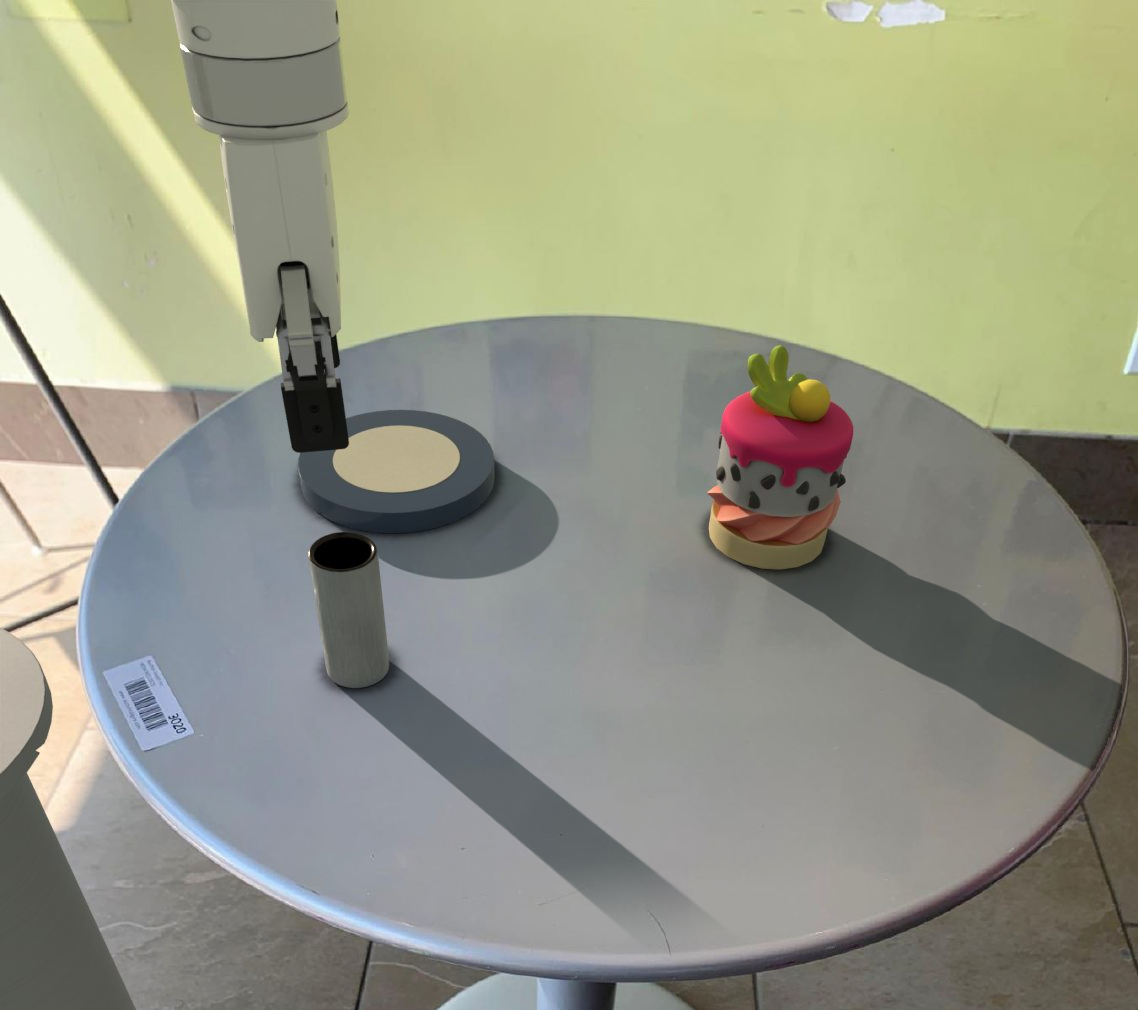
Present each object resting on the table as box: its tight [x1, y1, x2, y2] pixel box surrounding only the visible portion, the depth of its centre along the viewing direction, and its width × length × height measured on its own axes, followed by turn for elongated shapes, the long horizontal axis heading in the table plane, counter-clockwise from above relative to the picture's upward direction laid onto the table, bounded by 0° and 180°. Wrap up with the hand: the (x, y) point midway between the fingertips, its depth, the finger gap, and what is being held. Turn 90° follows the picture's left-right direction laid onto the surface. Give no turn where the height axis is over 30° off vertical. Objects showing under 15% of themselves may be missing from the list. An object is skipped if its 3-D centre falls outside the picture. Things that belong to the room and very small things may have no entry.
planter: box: [307, 531, 390, 689], centre depth 77 cm, size 4×4×10 cm
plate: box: [297, 409, 495, 534], centre depth 98 cm, size 17×17×2 cm
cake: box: [706, 344, 854, 570], centre depth 89 cm, size 10×11×15 cm
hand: (317, 406), depth 66 cm, fingers open, 9 cm apart
